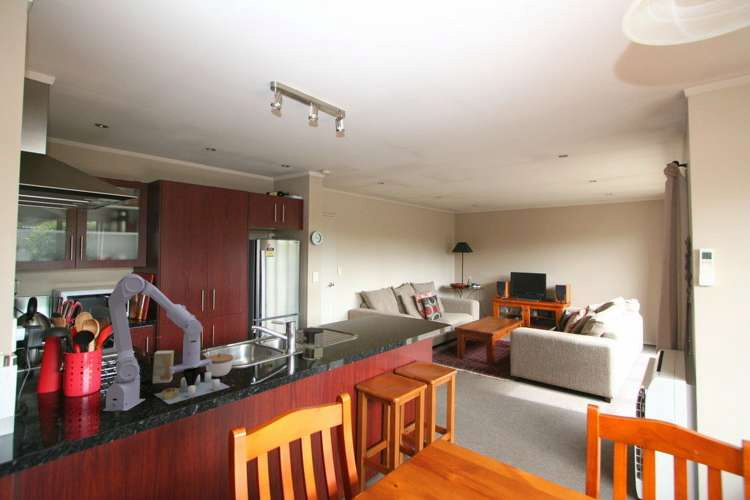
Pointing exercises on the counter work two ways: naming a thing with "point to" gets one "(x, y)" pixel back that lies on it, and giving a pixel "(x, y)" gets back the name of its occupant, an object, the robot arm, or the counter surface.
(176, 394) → the nut
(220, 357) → the lidded jar
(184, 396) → the board
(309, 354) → the coffee can
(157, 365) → the skincare box
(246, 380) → the counter surface
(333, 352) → the counter surface
